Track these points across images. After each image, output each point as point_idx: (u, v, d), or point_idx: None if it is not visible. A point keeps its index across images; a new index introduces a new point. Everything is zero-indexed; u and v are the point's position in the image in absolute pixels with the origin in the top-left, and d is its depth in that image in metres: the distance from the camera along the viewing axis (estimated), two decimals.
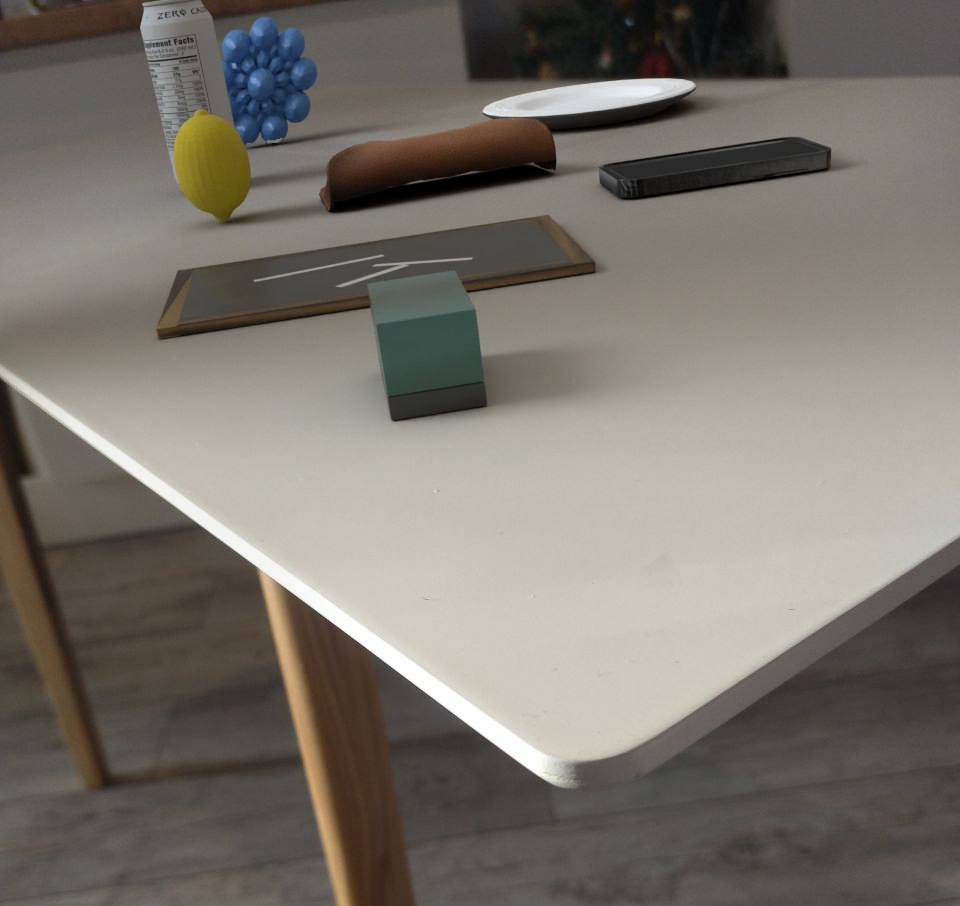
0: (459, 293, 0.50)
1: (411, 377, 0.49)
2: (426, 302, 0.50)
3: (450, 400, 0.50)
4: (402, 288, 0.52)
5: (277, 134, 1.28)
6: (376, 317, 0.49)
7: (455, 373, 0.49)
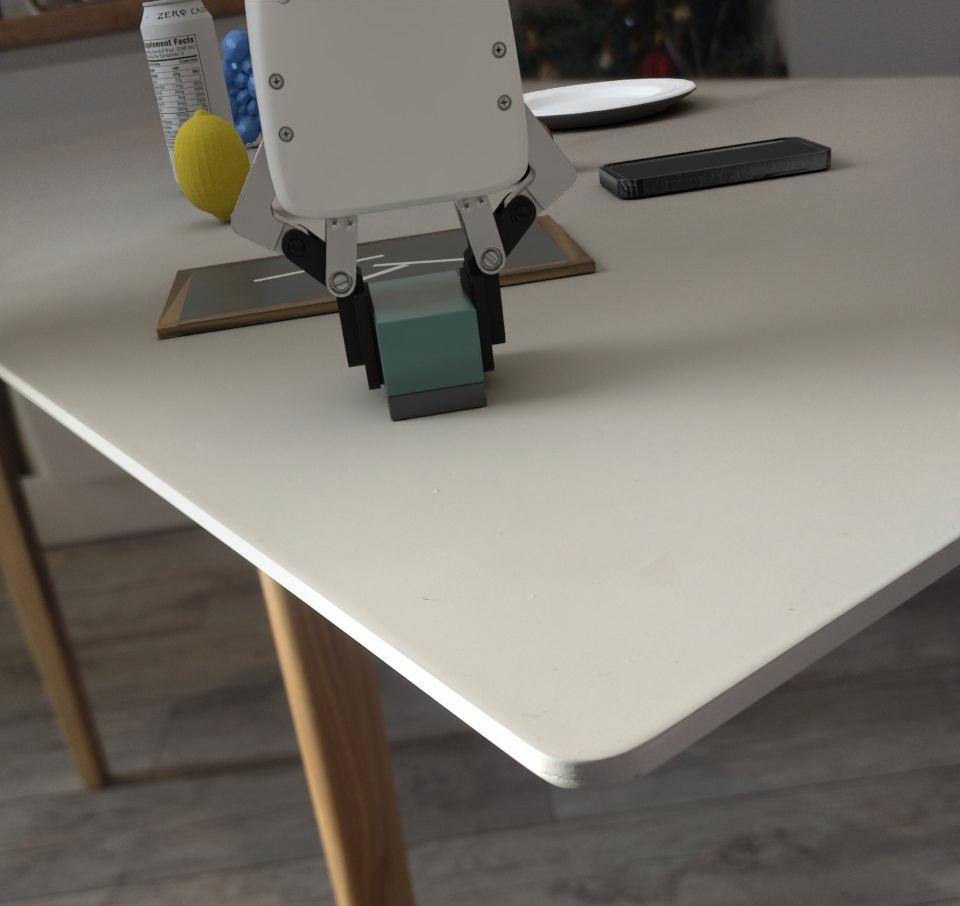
0: (459, 293, 0.50)
1: (411, 377, 0.49)
2: (426, 302, 0.50)
3: (450, 400, 0.50)
4: (402, 288, 0.52)
5: None
6: (376, 317, 0.49)
7: (455, 373, 0.49)
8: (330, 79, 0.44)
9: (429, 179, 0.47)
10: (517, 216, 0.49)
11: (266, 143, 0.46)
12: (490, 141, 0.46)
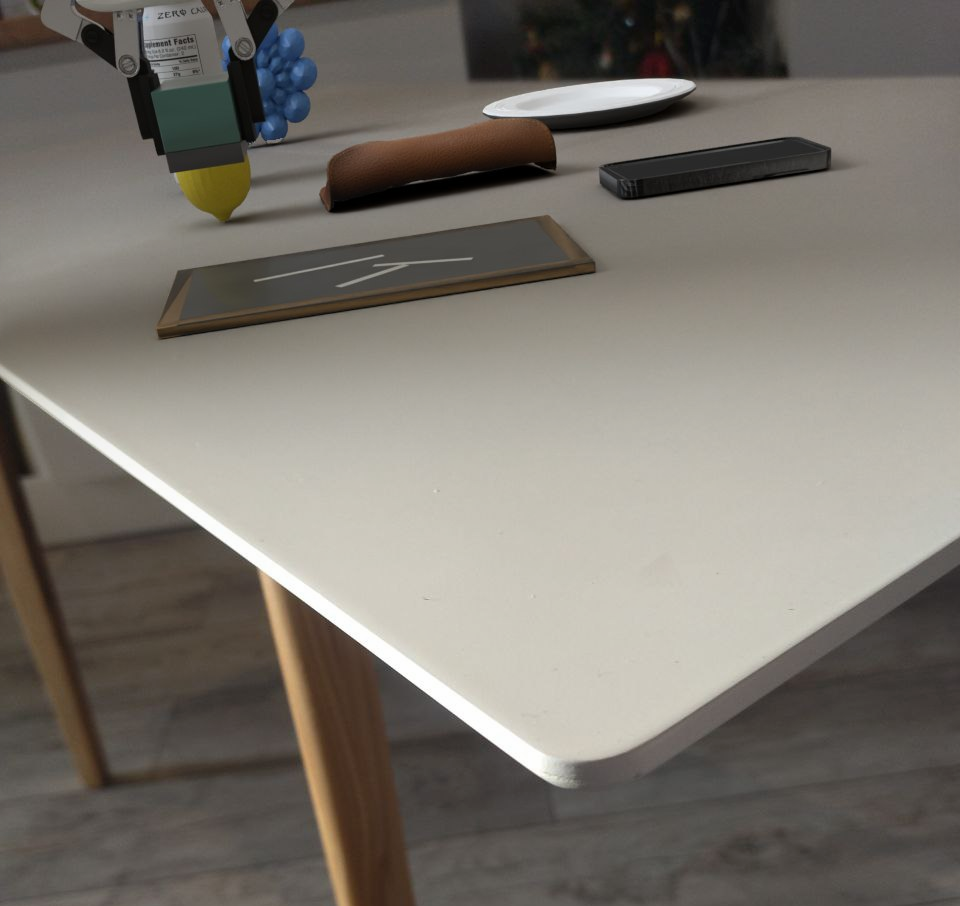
0: (223, 77, 0.65)
1: (182, 137, 0.64)
2: (196, 82, 0.65)
3: (214, 157, 0.65)
4: (186, 79, 0.67)
5: (277, 134, 1.28)
6: (154, 90, 0.64)
7: (216, 134, 0.64)
8: None
9: None
10: (262, 13, 0.64)
11: None
12: None
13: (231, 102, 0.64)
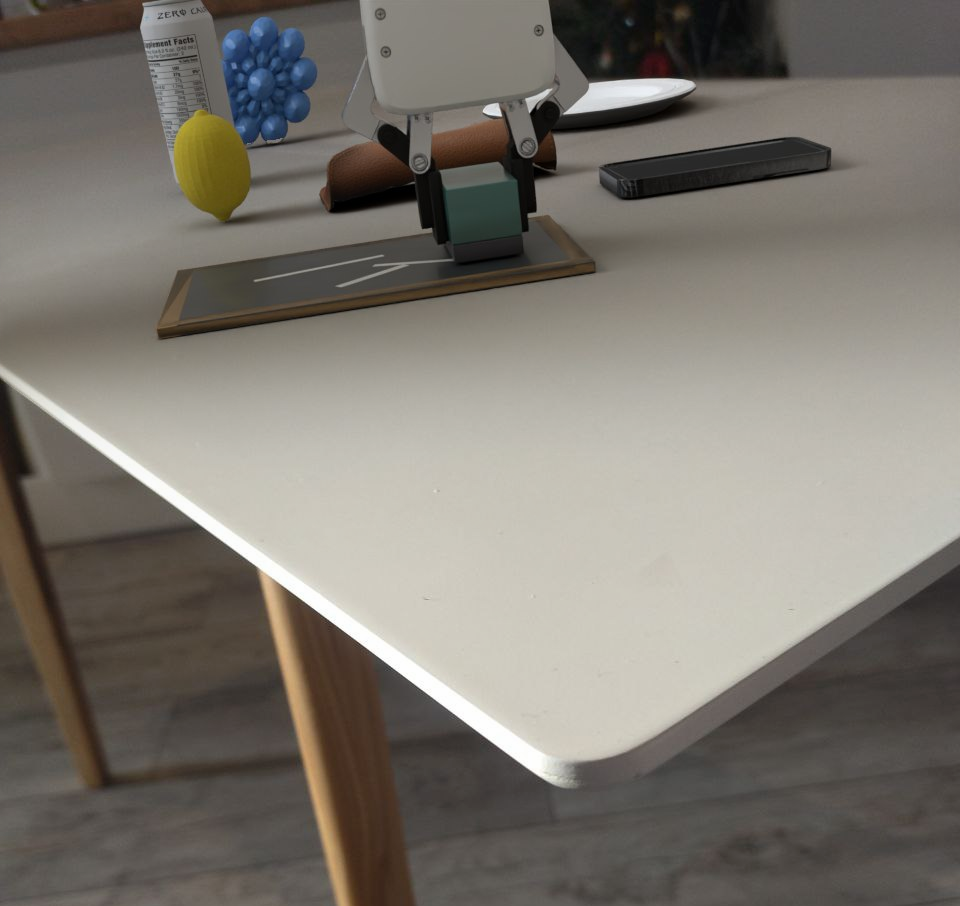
0: (503, 172, 0.70)
1: (469, 230, 0.68)
2: (480, 178, 0.69)
3: (497, 248, 0.69)
4: (461, 172, 0.72)
5: (277, 134, 1.28)
6: (445, 187, 0.68)
7: (501, 228, 0.68)
8: (418, 12, 0.64)
9: (485, 85, 0.66)
10: (546, 115, 0.68)
11: (371, 59, 0.65)
12: (528, 58, 0.66)
13: (518, 199, 0.68)
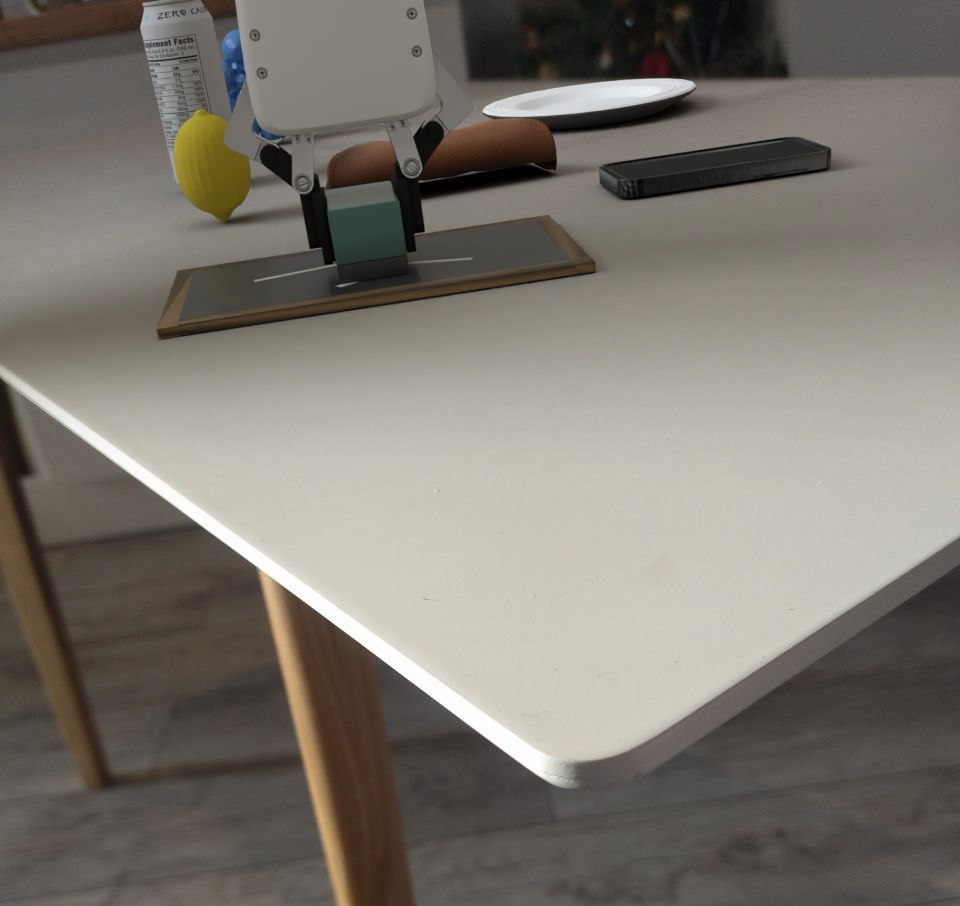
0: (389, 192, 0.69)
1: (353, 251, 0.68)
2: (365, 198, 0.69)
3: (382, 269, 0.69)
4: (349, 191, 0.71)
5: None
6: (328, 207, 0.68)
7: (385, 248, 0.68)
8: (292, 33, 0.63)
9: (364, 106, 0.66)
10: (430, 135, 0.68)
11: (248, 80, 0.65)
12: (407, 79, 0.65)
13: (401, 219, 0.68)
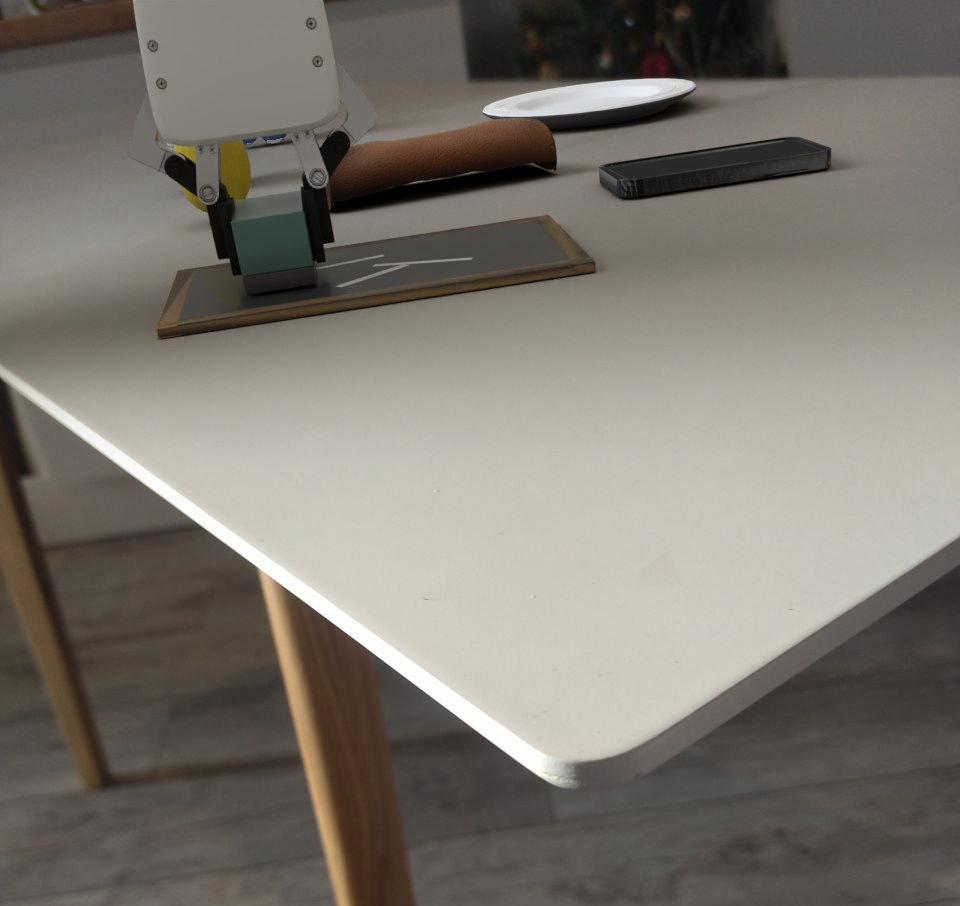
0: (297, 203, 0.69)
1: (259, 262, 0.68)
2: (271, 208, 0.68)
3: (289, 280, 0.68)
4: (259, 201, 0.71)
5: None
6: (233, 218, 0.67)
7: (291, 259, 0.68)
8: (190, 44, 0.63)
9: (266, 117, 0.65)
10: (336, 146, 0.68)
11: (148, 90, 0.64)
12: (309, 89, 0.65)
13: (306, 230, 0.67)
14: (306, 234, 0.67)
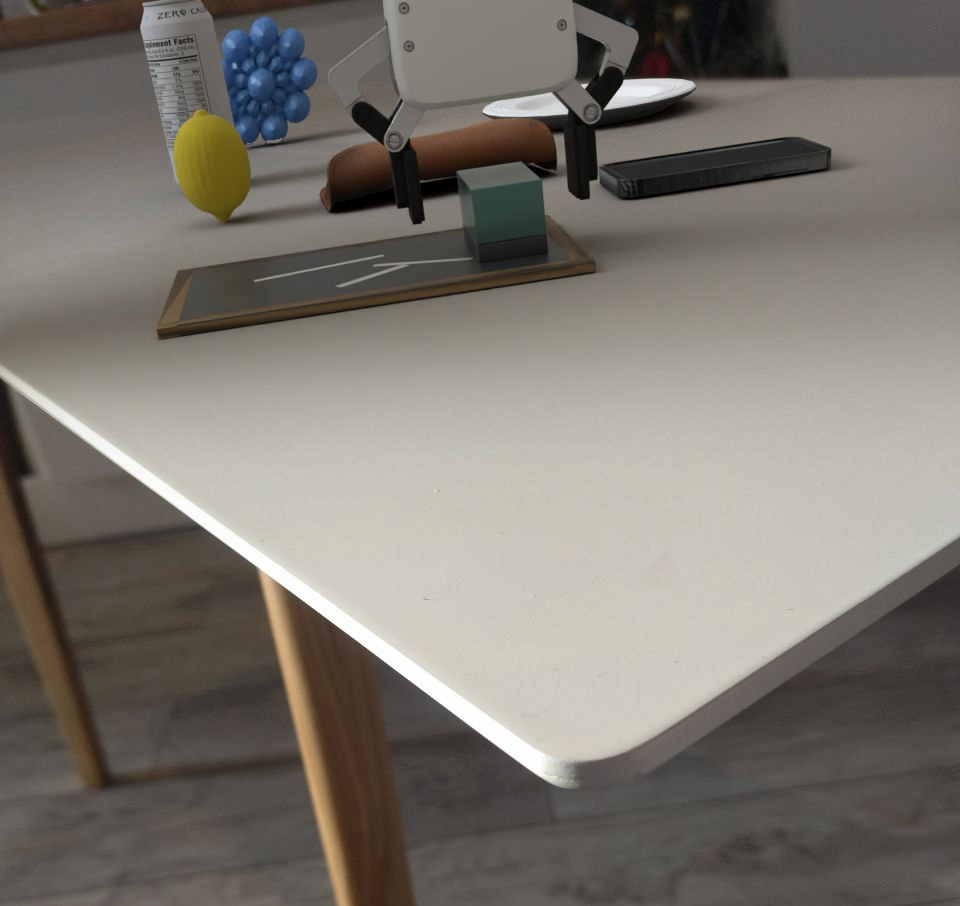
0: (528, 172, 0.70)
1: (494, 230, 0.68)
2: (504, 178, 0.69)
3: (522, 248, 0.69)
4: (484, 172, 0.72)
5: (277, 134, 1.28)
6: (470, 186, 0.68)
7: (526, 227, 0.69)
8: (441, 6, 0.64)
9: (507, 80, 0.66)
10: (610, 81, 0.68)
11: (394, 53, 0.65)
12: (551, 53, 0.66)
13: (542, 198, 0.68)
14: (542, 202, 0.68)
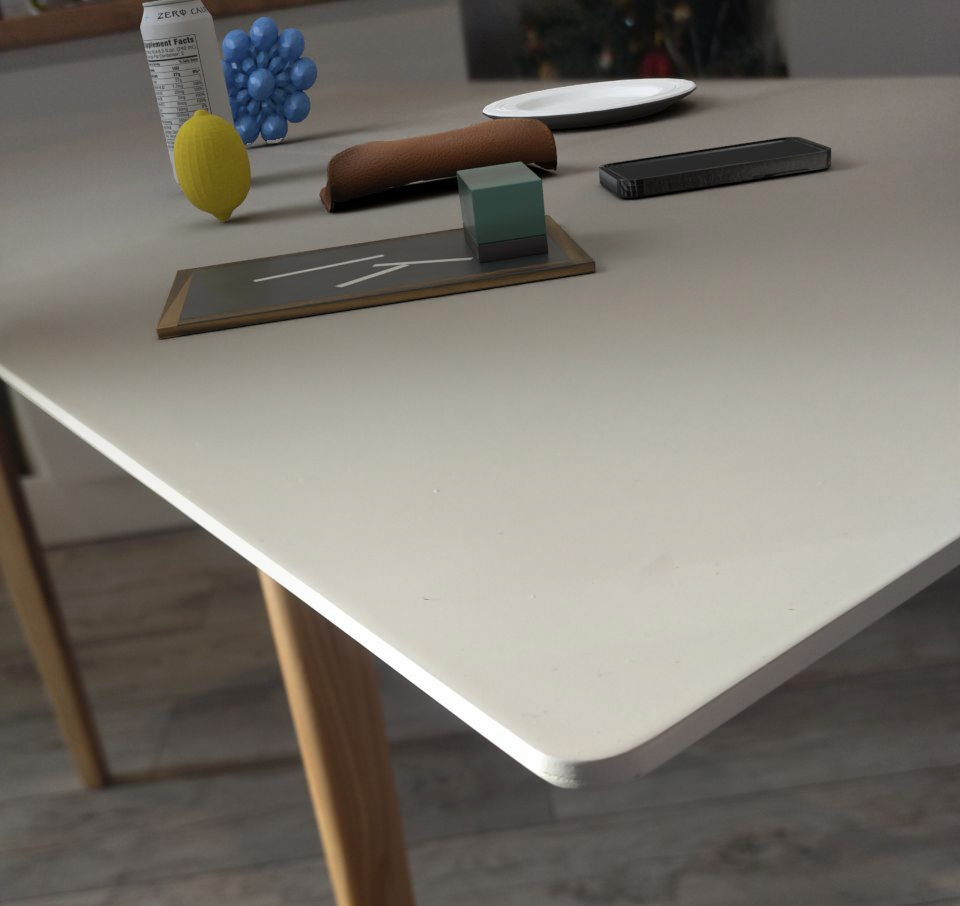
0: (528, 172, 0.70)
1: (494, 230, 0.68)
2: (504, 178, 0.69)
3: (522, 248, 0.69)
4: (484, 172, 0.72)
5: (277, 134, 1.28)
6: (470, 186, 0.68)
7: (526, 227, 0.69)
8: None
9: None
10: None
11: None
12: None
13: (542, 198, 0.68)
14: (542, 202, 0.68)
